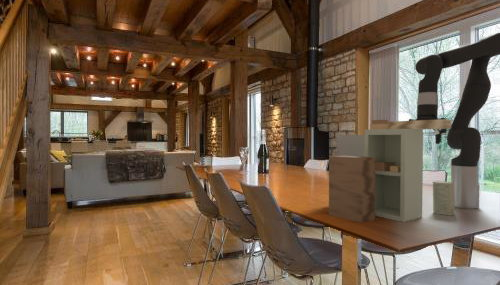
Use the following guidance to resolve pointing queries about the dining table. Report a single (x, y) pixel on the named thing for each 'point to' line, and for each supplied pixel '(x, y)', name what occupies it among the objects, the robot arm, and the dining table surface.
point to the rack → (396, 170)
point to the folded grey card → (350, 145)
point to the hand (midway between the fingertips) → (426, 143)
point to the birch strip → (420, 124)
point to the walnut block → (352, 187)
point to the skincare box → (443, 198)
